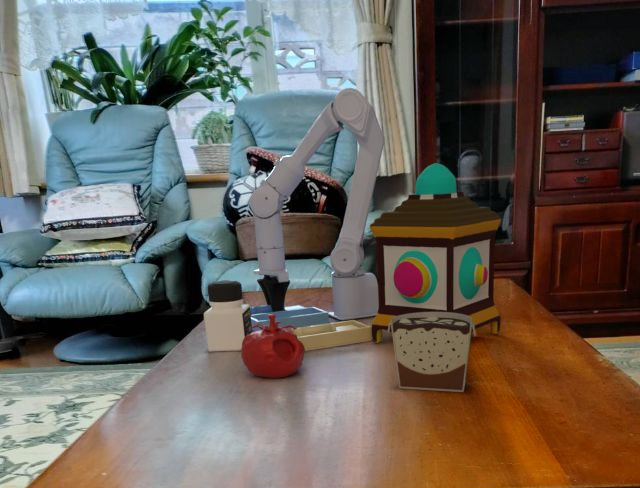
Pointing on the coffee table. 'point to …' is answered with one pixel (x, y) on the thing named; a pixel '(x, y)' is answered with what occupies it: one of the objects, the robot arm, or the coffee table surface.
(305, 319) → the blue bin
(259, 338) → the pomegranate
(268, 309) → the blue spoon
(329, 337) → the cream bin
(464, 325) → the food container
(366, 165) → the robot arm
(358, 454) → the coffee table surface
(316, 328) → the pale yellow bar
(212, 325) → the medicine bottle
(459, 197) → the decorative lantern
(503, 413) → the coffee table surface
